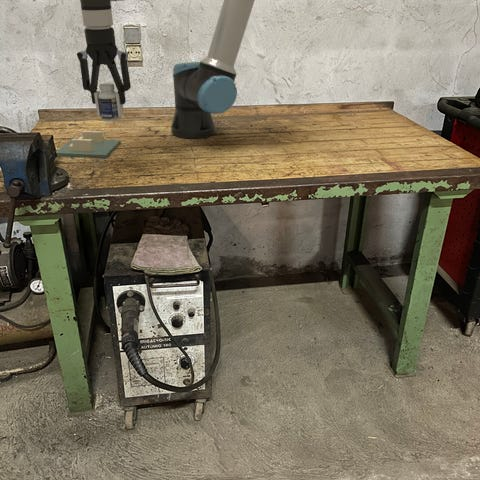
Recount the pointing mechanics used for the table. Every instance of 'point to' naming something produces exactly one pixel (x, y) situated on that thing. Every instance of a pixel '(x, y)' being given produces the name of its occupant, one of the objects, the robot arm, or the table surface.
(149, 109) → the table surface
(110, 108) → the pill bottle
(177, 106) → the robot arm
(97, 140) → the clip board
